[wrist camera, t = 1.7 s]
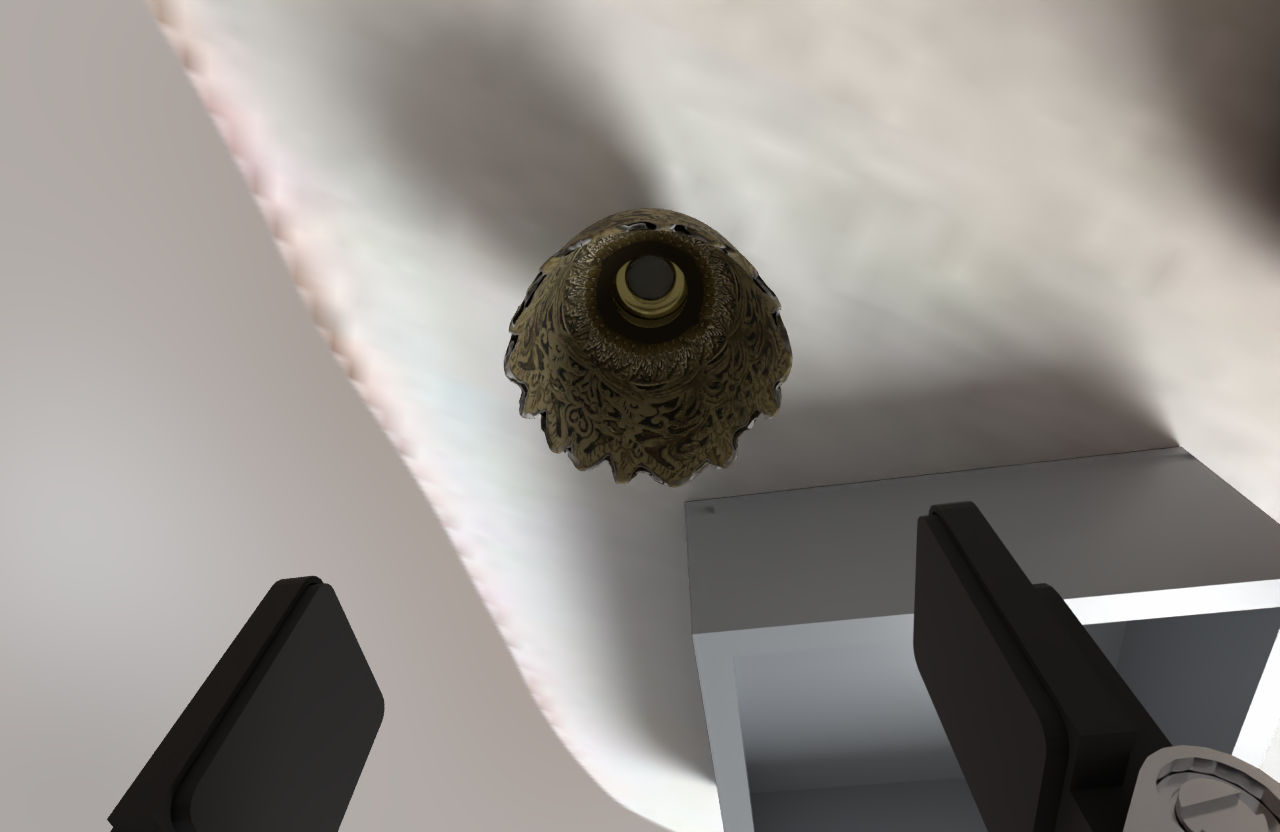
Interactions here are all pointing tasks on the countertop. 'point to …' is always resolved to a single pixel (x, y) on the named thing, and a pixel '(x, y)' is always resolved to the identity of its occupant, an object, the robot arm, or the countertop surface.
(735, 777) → the crate
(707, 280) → the brown patterned lamp shade
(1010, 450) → the countertop surface
